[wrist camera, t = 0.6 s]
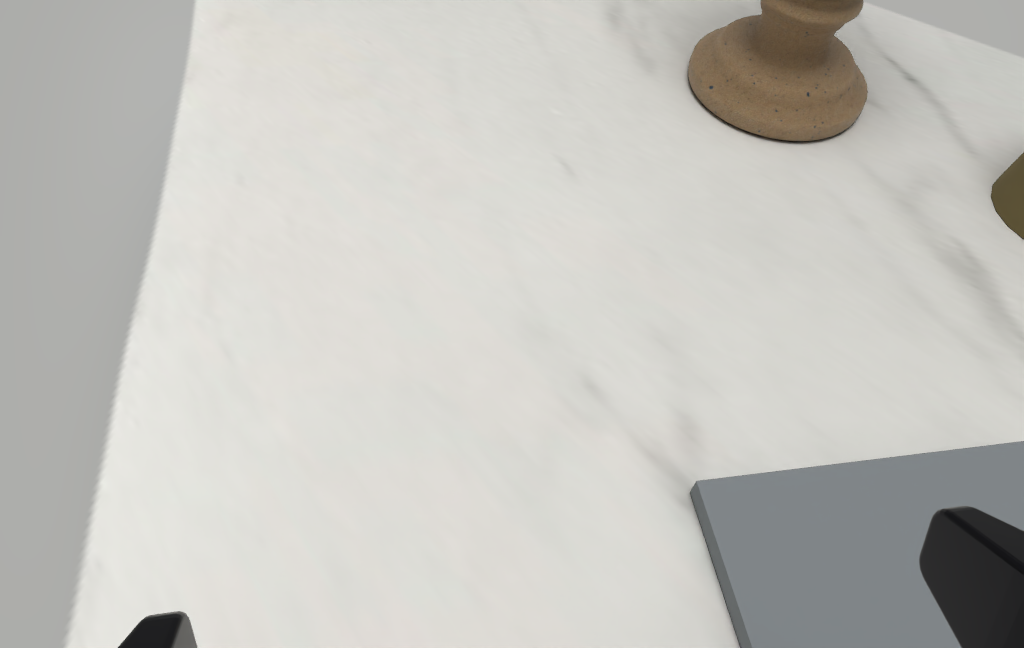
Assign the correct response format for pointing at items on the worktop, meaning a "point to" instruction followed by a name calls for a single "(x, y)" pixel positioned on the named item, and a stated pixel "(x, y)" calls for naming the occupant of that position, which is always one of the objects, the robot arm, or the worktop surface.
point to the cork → (1011, 196)
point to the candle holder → (782, 71)
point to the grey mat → (846, 545)
